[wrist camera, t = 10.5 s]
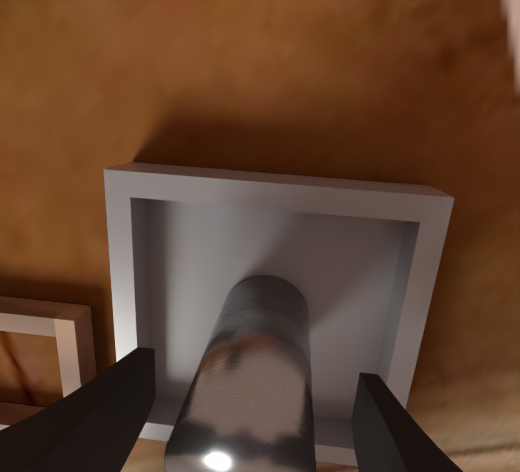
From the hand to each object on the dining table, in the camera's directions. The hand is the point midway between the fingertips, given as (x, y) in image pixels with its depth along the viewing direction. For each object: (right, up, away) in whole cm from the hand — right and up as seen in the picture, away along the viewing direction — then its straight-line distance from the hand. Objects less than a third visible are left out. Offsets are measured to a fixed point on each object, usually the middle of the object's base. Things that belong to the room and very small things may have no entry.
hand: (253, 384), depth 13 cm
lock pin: (0, +2, +4) cm, 5 cm away
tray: (+1, +2, +5) cm, 6 cm away
